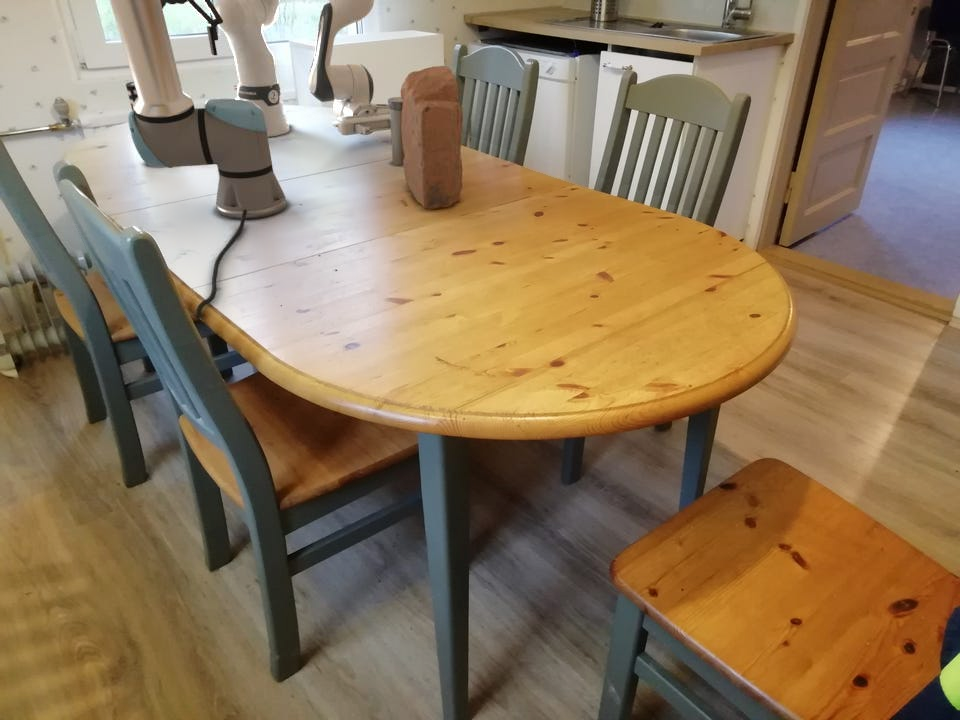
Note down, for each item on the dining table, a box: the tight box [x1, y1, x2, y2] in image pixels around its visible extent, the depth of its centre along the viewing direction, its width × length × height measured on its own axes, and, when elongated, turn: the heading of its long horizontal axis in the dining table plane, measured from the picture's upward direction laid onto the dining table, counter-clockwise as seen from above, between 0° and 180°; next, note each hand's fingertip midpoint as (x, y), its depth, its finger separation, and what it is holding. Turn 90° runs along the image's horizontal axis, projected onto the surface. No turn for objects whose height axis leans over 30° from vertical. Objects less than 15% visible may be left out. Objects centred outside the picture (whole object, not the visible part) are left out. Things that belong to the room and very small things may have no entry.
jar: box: [390, 109, 405, 167], centre depth 184 cm, size 5×5×16 cm
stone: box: [400, 65, 464, 210], centre depth 159 cm, size 22×11×28 cm, turn 18°
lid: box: [387, 96, 403, 110], centre depth 180 cm, size 6×6×2 cm
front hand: (187, 56), depth 174 cm, fingers open, 13 cm apart
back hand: (382, 129), depth 194 cm, fingers open, 8 cm apart
